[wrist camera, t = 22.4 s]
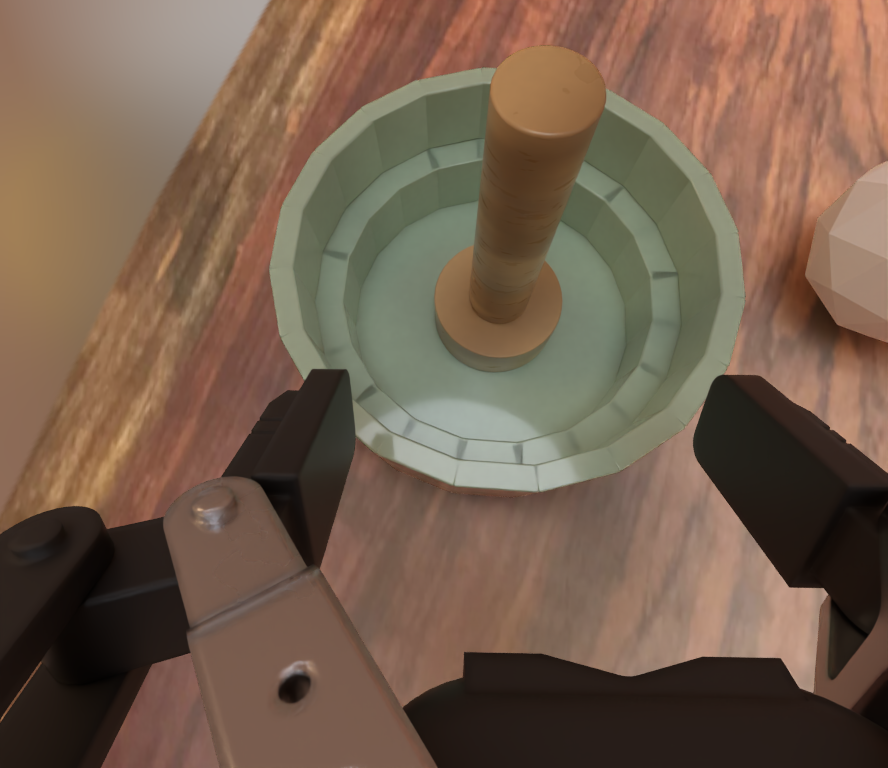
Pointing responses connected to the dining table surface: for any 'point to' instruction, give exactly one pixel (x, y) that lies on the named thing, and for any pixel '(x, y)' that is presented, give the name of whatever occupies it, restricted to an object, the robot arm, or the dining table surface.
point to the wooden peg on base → (520, 209)
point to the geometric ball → (854, 256)
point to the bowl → (570, 256)
